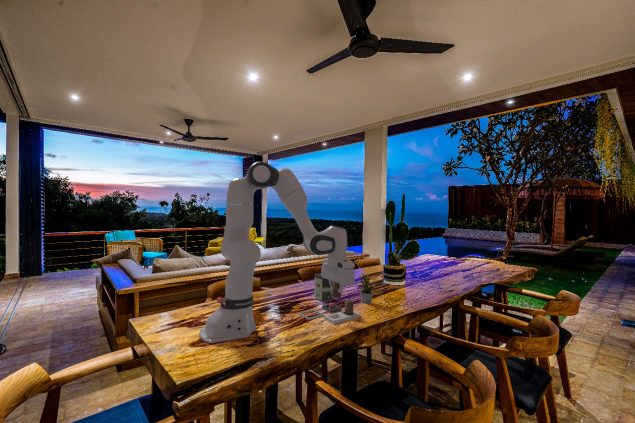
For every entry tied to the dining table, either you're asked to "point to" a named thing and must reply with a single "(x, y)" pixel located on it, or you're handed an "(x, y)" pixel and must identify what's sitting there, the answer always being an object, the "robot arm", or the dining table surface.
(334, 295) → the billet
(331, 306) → the button
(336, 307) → the button housing
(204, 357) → the dining table surface
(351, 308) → the billet
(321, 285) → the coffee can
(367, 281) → the house plant
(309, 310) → the parts tray
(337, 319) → the plate
